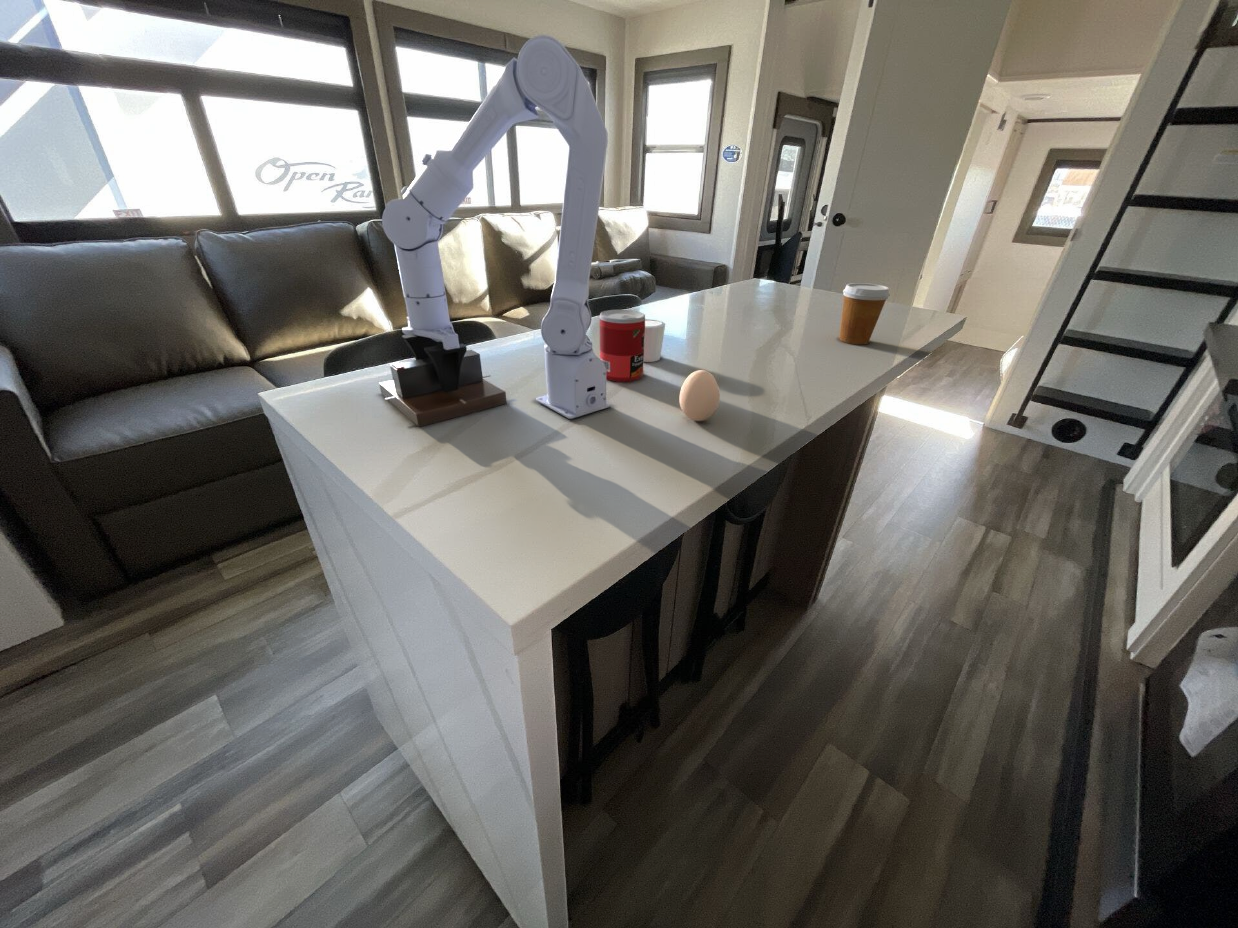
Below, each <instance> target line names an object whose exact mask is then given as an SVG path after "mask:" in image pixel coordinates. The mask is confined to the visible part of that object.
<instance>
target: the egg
mask: <svg viewBox="0 0 1238 928" xmlns="http://www.w3.org/2000/svg"><path fill="white" fill-rule="evenodd" d="M720 397H721V394H720V387H719V385H718V382H717V380H716V378H715V377H714V375H713V374H712V373H711V372H709V371H707V370H705V369H698V370H695V371H693V372H691V373H690V374H689V375H688V376H687V377H686V379H685V380H684V381H683V383H682V385H681V388H680V391H679V397H678V398H679V399H678V400H679V406H680V409H681V411H682V412H683V414H684V416H686V417H687V418H688V419H689V420H692V421H694V422H702V421H706V420H707V419H709V418H711V416H713V415H714V414H715V412H716V411H717V408H718V407H719V403H720V399H721V398H720Z"/></svg>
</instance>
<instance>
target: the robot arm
mask: <svg viewBox="0 0 1238 928" xmlns="http://www.w3.org/2000/svg"><path fill="white" fill-rule="evenodd" d="M536 108H538V109H539V110H540V111H542V113H544V114H546V115H547V116H548V117H549V118H550V119H551V120H552V123H553V125H554V126H555V128H556V129H557V131H558V132H559V133H560V135H561V136H562V137H563V139H564V140H565V142H566V144H567V146H568V151H567V152H568V154H567V162H566V171H565V182H564V190H563V201H562V211H561V221H560V229H559V230H560V231H559V241H558V248H557V249H558V250H557V259H556V268H555V269H556V270H555V277H554V278H555V279H554V284H553V287H552V292H551V295H550V301H549V302H550V303H549V308H548V311H547V313H546V314H545V315H544V316H543V318H542V321H541V323H540V332H541V333H540V334H541V337H542V340H543V341H544V344H543V350H544V351H543V352H544V365H545V367H544V368H545V385H546V394H544V395H541V396H537V397H536V399H535V400H536V401H537V402H538V403H540V404H542V405H543V406H545V407H547V408H548V409H551V410H552V411H554V412H555V413H558V414H559V415H561V416H563V417H565V418H567V419H569V420H572V419H576V418H579V417H582V416H585V415H588V414H591V413H594V412H597V411H601V410H604V409H607V408H610V407H611V406H612V405H611V402H608V401H607V379H606V367H605V365H604V363H603V362H602V360H600V357H598V356H597V355H596V354H595V352H594V349H593V341H591V339H590V338H589V336H588V335H587V332H588V330H589V328H590V326H591V324H592V319H593V318H592V312H591V308H590V306H589V296H590V277H591V269H592V264H593V263H592V262H593V256H594V255H593V254H594V247H595V242H596V241H595V240H596V232H597V227H598V226H597V225H598V218H599V211H600V204H601V198H602V197H601V195H602V189H603V181H604V174H605V166H606V159H607V152H608V144H609V133H608V130H607V127H606V125H605V122H604V120H603V117H602V114H601V112H600V110H599V106H598V104H597V102H596V99H595V96H594V94H593V92H592V88H591V86H590V83H589V81H588V79H587V78H586V77H585V74H584V72H583V69H582V68H581V66H580V65H579V63H578V62H577V61H576V60H575V58H574V57H573V55H571V53H570V52H569V50H568V49H567V48H566V47H565V46H564V44H563V43H562V42H561V41H559V40H558V39H557V38H555V37H553V36H551V35H547V34H538V35H534V36H533V37H530V38H529V39H528V40H527V41H526V42H525V43H524V44H523V45H522V47H521V48H520V50H519V52H518V55H517V58H516V57H513V58H512V59H511V60H510V61H508V63H506V65H505V66H504V67H503V69H502V71H501V73H500V74H499V76H498V78H497V80H496V81H495V83H494V85H493V86H492V88H490V90H489V92H488V93H487V95H486V97H485V98H484V100H483V101H482V102H481V104H480V106H479V107H478V108H477V110H476V112H475V113H474V114H473V116H472V117H471V119H470V121H469V122H468V123H467V125H466V126H465V128H464V129H463V131H462V132H461V134H460V135H459V137H458V139H457V140H456V142H455V143H454V145H453V146H452V147H451V148H450V149H449V150H443V149H441V150H439V149H438V150H435V151H434V152H433V153H432V154H428V153H426V154H425V155H424V156H423V158H422V159H421V160H420V162H421V164H422V165H423V167H422V169H421V170H420V171H419V173H418V174H417V175H416V176H415V178H414V180H413V181H412V182H411V184H410V185H409V186H408V185H406V186H403V188H402V189H401V191H400V194H401V195H402V198H395V199H392V200H389V201H388V202H386V205H385V208H384V210H383V213H382V217H381V225H382V228H383V231H384V234H385V235H386V237H387V238H388V240H389V241H390V242H391V243H392V244H393V245H394V250H395V255H396V256H395V257H396V260H397V261H396V262H397V267H398V270H399V271H398V272H399V277H400V283H401V288H402V294H403V298H404V303H405V308H406V313H407V316H406V323H407V326H403V327H402V328H401V330H402V333H403V334H402V335H401V339H402V340H403V341H404V342H405V343H406V345H407V347H408V348H409V350H410V351H411V353H412V355H413V356H414V358H415V360H419V359H424V358H430V359H431V361H432V363H433V365H434V367H435V369H436V372H437V375H438V378H439V382H440V385H441V387H442V389H443V391H444V392H445V393H448V392H452V391H456V390H458V386H459V376H460V368H461V364H462V360H463V358H464V355H465V353H466V351H467V350H468V347H467V345H465V344H464V343H460V341H459V334H458V333H456V332H455V330H454V329H455V328H454V326H453V323H452V322H451V318H450V311H449V305H448V299H447V292H446V285H445V279H444V272H443V265H442V259H441V255H440V247H439V241H440V239H441V237H442V235H443V232H444V231H443V230H444V225H445V224H446V223H447V222H448V220H449V219H450V218H451V217H452V216H453V215H454V213H455V212H456V211H457V209H458V208H459V207H460V206H461V204H462V203H463V202H464V201H465V200H466V198H467V197H468V196H469V195H470V193H471V192H472V190H473V189H474V170H475V169H476V168H477V167H478V165H479V164H480V163H481V162H483V160H484V159H485V157H487V155H488V154H489V153H490V152H491V151H492V149H493V148H494V147H495V146H496V145H497V144H498V143H499V141H501V139H502V138H503V137H504V136H505V135H506V133H507V132H508V131H509V130H510V129H511V128H512V127H513V125H515V124H518V123H522V122H526V121H527V122H528V121H533V120H536V119H539V118H540V116H539V114H538V112H537V110H536Z"/></svg>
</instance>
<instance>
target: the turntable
mask: <svg viewBox="0 0 1238 928" xmlns="http://www.w3.org/2000/svg"><path fill="white" fill-rule="evenodd" d="M482 376H483V381H480V382H475V383H471V384H467V385H462V386H458V390H456V391H452V392H448V393H445V392H444V391H443V390H441V391H436V392H432V393H428V394H423V395H419V396H414V397H410V398H406V399H402V398H401V397H400V396H399V395H397V394H396V391H395V386H394V382H393V379H391V380H387V381H382V382H378V385H379V390H380V393H381V395H382V396H383V397H384V400H385V401H388V402H390V403H391V404H392V405H393V406H394V407H395V408H396V409H397V410H399V411H400V412H401V413H402V414H403V415H404V416H405V417H406V418H408V419H409V420H410V421H411V422H412V423H413V424H415V425H416V426H417V427H418V428H420V427H424V426H428V425H431V424H436V423H439V422H444V421H448V420H450V419H454V418H458V417H462V416H466V415H469V414H472V413H477V412H480V411H485V410H488V409H492V408H497V407H500V406H503V405H507V404H508V403H507V393H506V390H503V389H501V388H500V387H499V386H497V385H494V384H493V383H491V382H490V381H488V380H486V379H485V378H490V377H492V375H491V374H488V375H482Z"/></svg>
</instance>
